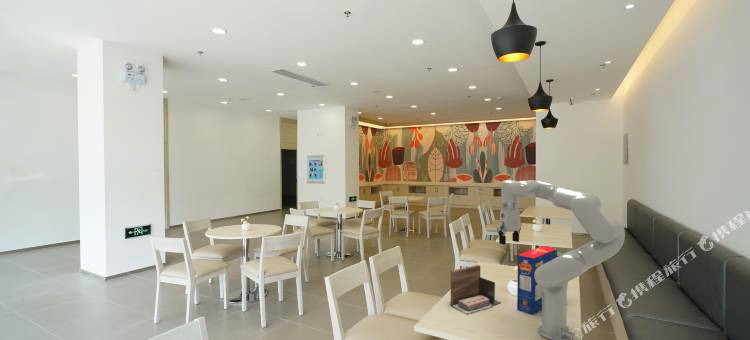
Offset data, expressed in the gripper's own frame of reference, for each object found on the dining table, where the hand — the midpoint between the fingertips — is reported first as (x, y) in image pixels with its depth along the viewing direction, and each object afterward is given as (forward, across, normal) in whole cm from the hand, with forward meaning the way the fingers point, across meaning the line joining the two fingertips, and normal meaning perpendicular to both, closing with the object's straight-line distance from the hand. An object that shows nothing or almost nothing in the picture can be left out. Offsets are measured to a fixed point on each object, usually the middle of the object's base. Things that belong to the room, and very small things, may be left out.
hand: (509, 242), depth 168 cm
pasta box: (+37, +27, +2) cm, 45 cm away
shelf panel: (+36, -2, +25) cm, 44 cm away
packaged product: (+37, -4, +18) cm, 41 cm away
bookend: (+36, +10, +19) cm, 42 cm away
